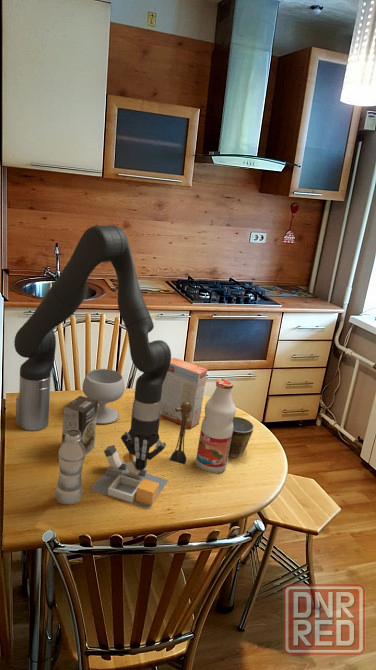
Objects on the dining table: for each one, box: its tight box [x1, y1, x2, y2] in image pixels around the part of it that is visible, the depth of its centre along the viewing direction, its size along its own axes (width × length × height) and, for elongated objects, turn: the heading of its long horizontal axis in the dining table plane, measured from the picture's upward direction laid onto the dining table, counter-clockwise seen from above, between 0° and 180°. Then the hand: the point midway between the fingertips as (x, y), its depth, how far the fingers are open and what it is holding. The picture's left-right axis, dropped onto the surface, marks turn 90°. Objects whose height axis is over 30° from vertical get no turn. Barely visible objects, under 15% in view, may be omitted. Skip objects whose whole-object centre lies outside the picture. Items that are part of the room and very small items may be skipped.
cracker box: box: [160, 357, 208, 430], centre depth 178 cm, size 14×6×21 cm, turn 58°
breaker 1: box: [103, 444, 122, 469], centre depth 145 cm, size 2×3×6 cm
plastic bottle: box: [55, 429, 86, 506], centre depth 130 cm, size 6×7×20 cm
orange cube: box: [136, 479, 159, 507], centre depth 136 cm, size 4×4×4 cm
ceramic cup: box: [228, 416, 255, 458], centre depth 166 cm, size 13×10×10 cm
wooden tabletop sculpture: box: [170, 401, 192, 465], centre depth 154 cm, size 6×5×20 cm
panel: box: [90, 460, 169, 510], centre depth 141 cm, size 17×14×3 cm
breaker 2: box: [122, 451, 140, 475], centre depth 144 cm, size 2×3×6 cm
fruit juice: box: [195, 378, 237, 474], centre depth 153 cm, size 9×9×28 cm
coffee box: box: [61, 395, 99, 456], centre depth 152 cm, size 9×6×16 cm
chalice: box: [81, 368, 126, 425], centre depth 174 cm, size 14×14×15 cm
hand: (140, 468), depth 144 cm, fingers closed
